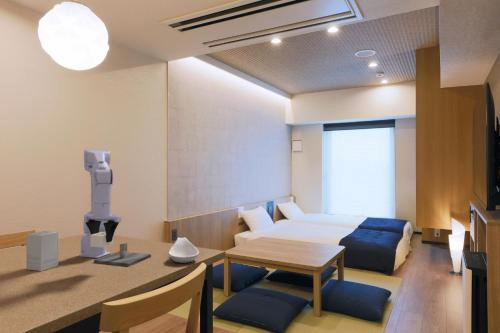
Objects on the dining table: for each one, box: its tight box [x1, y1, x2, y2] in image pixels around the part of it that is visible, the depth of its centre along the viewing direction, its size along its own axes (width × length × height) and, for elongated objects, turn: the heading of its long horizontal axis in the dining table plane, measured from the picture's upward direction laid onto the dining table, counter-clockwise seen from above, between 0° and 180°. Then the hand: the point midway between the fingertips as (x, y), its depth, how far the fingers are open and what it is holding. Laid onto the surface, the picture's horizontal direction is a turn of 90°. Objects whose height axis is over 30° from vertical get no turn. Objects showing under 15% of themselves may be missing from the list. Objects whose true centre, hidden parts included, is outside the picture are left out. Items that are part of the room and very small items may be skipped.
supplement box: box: [25, 230, 59, 272], centre depth 121 cm, size 7×7×13 cm
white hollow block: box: [90, 232, 115, 248], centre depth 118 cm, size 5×5×4 cm
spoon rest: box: [168, 237, 200, 264], centre depth 136 cm, size 24×12×7 cm, turn 17°
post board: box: [93, 242, 152, 267], centre depth 132 cm, size 16×14×6 cm
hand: (102, 241), depth 118 cm, fingers closed on white hollow block, 5 cm apart
